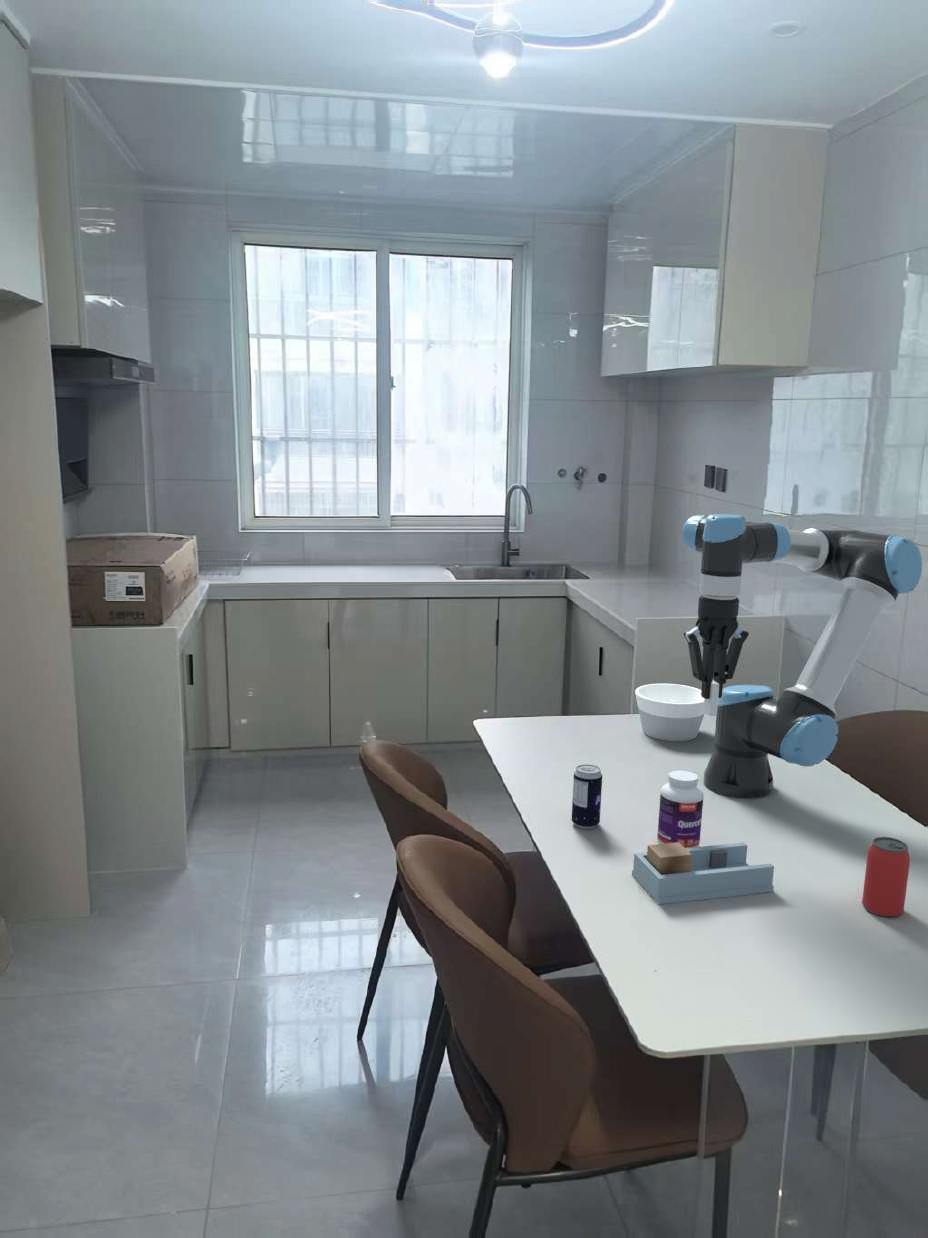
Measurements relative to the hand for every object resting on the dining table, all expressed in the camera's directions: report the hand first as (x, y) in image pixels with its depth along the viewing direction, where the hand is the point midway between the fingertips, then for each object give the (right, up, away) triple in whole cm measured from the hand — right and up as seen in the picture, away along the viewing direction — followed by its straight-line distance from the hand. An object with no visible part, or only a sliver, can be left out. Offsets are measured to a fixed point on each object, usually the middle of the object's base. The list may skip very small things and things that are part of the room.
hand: (710, 713), depth 191 cm
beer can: (+23, -31, -25) cm, 46 cm away
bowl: (+6, -12, +66) cm, 67 cm away
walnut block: (-12, -28, -19) cm, 36 cm away
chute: (-6, -28, -18) cm, 34 cm away
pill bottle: (-7, -26, -3) cm, 27 cm away
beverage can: (-24, -23, +6) cm, 34 cm away
